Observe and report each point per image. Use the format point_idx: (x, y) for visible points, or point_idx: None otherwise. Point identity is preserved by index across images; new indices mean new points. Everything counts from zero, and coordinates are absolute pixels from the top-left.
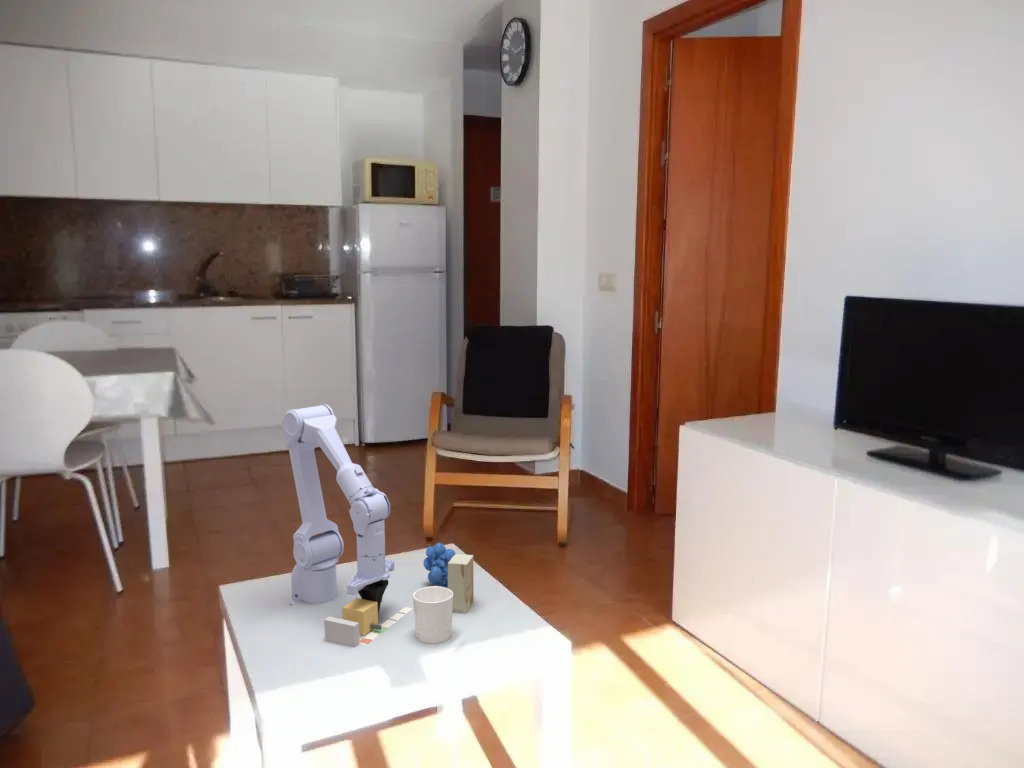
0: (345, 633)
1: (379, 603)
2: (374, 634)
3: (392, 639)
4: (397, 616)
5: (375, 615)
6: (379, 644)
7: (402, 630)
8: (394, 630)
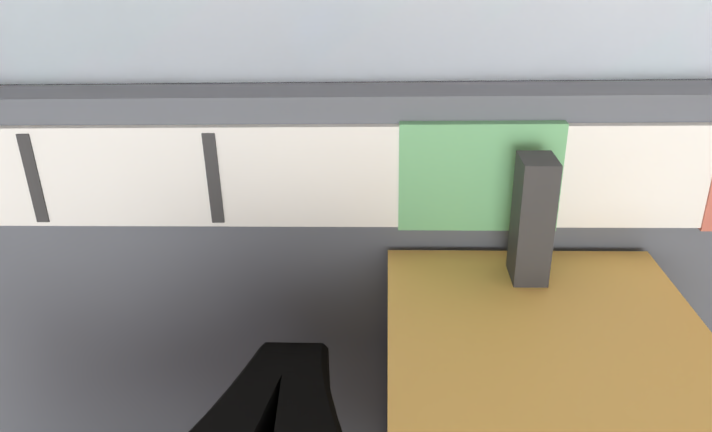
0: None
1: (245, 414)
2: (594, 172)
3: (476, 3)
4: (121, 178)
5: (437, 321)
6: (620, 68)
7: (255, 18)
8: None
